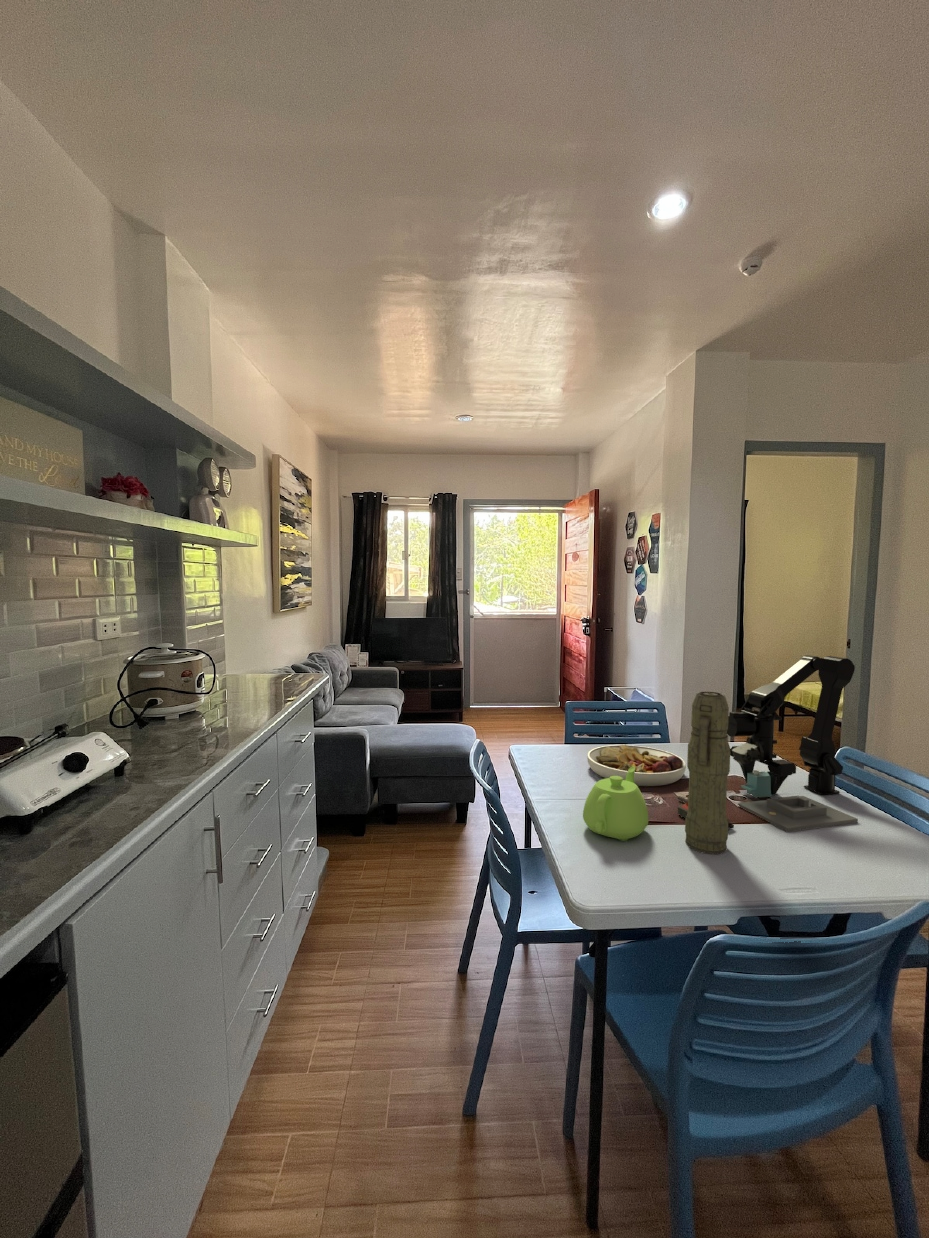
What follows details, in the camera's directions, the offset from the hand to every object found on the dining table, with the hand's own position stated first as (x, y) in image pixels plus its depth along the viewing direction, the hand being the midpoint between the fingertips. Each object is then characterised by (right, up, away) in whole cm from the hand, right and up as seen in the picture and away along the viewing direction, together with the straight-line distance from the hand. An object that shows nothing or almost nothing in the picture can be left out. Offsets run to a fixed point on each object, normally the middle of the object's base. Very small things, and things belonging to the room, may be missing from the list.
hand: (760, 788), depth 157 cm
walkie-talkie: (-25, -3, -15) cm, 29 cm away
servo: (0, -2, 0) cm, 2 cm away
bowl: (-30, -1, +19) cm, 35 cm away
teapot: (-48, -3, -23) cm, 53 cm away
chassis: (+2, -2, -14) cm, 14 cm away
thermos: (-30, -3, -32) cm, 44 cm away
